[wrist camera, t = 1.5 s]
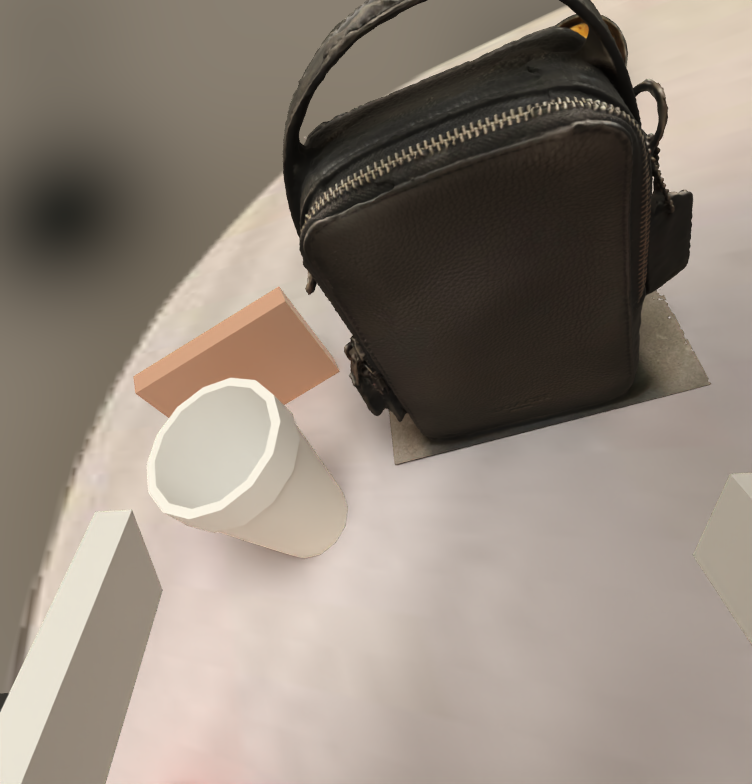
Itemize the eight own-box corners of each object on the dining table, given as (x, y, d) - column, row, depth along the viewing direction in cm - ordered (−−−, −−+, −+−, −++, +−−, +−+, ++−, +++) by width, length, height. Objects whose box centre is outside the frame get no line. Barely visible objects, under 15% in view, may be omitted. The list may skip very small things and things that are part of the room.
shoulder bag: (660, 289, 43) (674, -200, 21) (711, 384, 37) (799, -139, 16) (385, 373, 49) (178, 58, 27) (396, 466, 43) (148, 166, 22)
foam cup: (357, 580, 39) (258, 516, 29) (247, 579, 43) (126, 521, 33) (372, 458, 44) (292, 368, 34) (272, 466, 48) (174, 385, 38)
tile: (340, 372, 51) (285, 300, 43) (211, 449, 52) (135, 393, 44) (332, 355, 52) (278, 284, 45) (207, 431, 53) (133, 373, 46)
